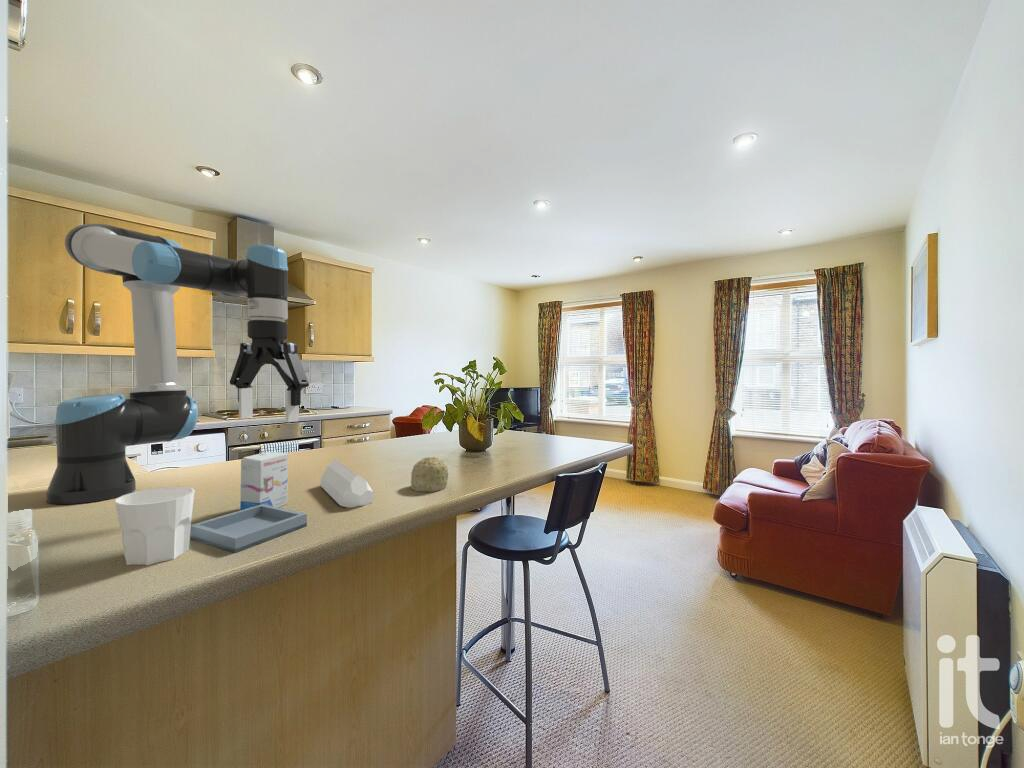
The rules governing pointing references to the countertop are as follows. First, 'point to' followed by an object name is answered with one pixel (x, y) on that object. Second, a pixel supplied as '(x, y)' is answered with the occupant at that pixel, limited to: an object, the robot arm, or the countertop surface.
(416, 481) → the decorative object
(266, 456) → the ink box
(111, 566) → the countertop surface
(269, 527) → the tray
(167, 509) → the cup
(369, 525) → the countertop surface
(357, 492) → the crystal
